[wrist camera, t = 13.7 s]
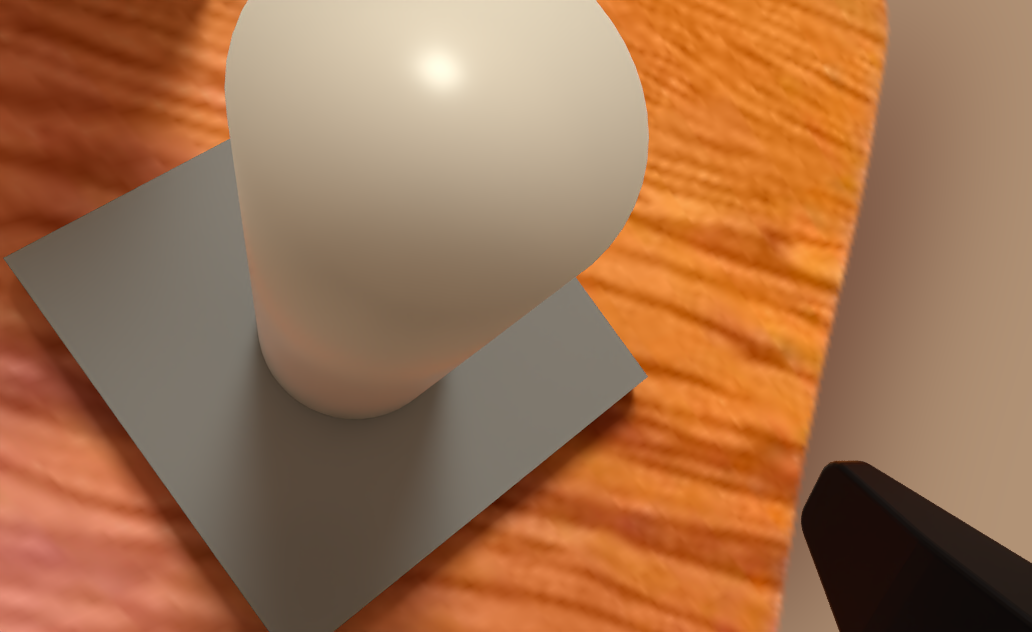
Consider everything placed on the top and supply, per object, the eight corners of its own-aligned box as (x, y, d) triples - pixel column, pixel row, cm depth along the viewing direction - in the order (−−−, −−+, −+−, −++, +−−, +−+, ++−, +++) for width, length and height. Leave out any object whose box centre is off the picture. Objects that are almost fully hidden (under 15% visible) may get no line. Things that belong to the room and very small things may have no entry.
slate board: (633, 381, 24) (647, 376, 23) (292, 656, 20) (292, 664, 19) (402, 63, 24) (406, 45, 23) (16, 269, 20) (3, 257, 19)
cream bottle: (485, 321, 22) (719, 117, 10) (362, 459, 20) (476, 404, 8) (350, 199, 22) (433, -157, 10) (214, 328, 20) (118, 81, 8)
